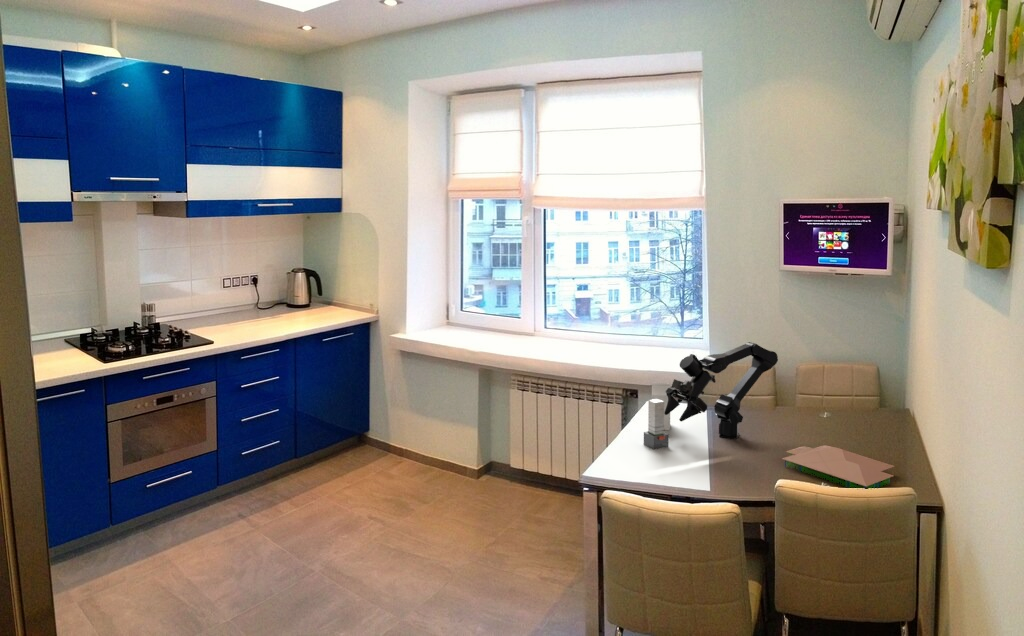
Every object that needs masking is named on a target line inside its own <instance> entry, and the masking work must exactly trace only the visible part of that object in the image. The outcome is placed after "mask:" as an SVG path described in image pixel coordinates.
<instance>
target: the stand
mask: <svg viewBox="0 0 1024 636" xmlns="http://www.w3.org/2000/svg"><path fill="white" fill-rule="evenodd" d="M669 439H670V438H669V433H666V432H665V431H664V434H663V435H658V436H653V435H651V434H649V433H648V430H647V431H644V432H643V445H644V446H645V447H648V448H649V449H651V450H659V449H665V448H669V447H670V446H669Z"/></svg>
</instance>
